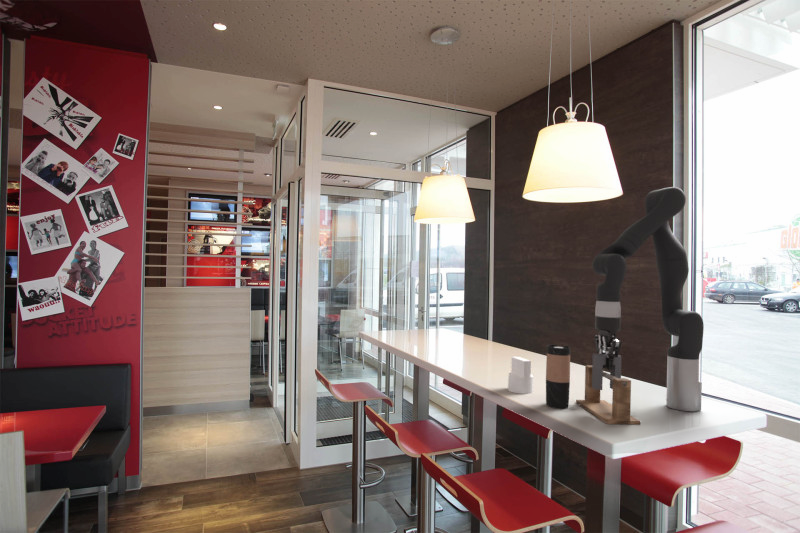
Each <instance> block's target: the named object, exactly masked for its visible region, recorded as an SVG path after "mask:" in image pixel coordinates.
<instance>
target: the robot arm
mask: <svg viewBox="0 0 800 533" xmlns="http://www.w3.org/2000/svg"><path fill="white" fill-rule="evenodd" d="M686 199H687V198H686V195H685V192H684V191H683V190H682V188H679V187H676V186H671V187H664V188H661V189H655V190H652V191H650V192H648V193H647V194H646V196H645V199H644V210H645V214H646V215H644V216H642V218H640V219H638V220H637V221H635V222H634V223H632V224H631V225H630V226H628V227H626V229H625V230H624V231H623V232H622V233H621V234H620V235H619V236H618V238H616V240H615V241H613V243H611V244H610V245H608V246H607V247H606V248H604V249H602V250H601V251H600V252H599V253H598V254H596V255H595V257H594V259H593V261H592V270H593V272H594V273H595V274H597V275H600V276H605V278H604V280H603V282H601V283H598V284H597V286H596V298H595V300H596V302H595V310H594V312H595V314H594V316H595V317H594V321H595V322H594V328H595V330H597V331H598V335H597V334H596V335H594V336H593V337H594V342H595V348H596V352H597V353H596V354H606V365H603V369H605V370H606V371H610V370H613V361H614V358H615V357H618V355H620V349H621V346H622V342H623V341H621V340H618V339H617V338H618V337H617V332H619V331H621V327H622V326H621V324H622V323H621V318H622V317H621V314H622V312H621V311H622V307H621V288H622V285H623V283H624V279H625V275H626V272H627V261H626V259H628V258H631V257H632V256H634V254H636V252H637V251H638V250H639V249H641V246H642V245H644V243H645V242H647V240H648V239H649V238H650V237H652V243H653V247H654V248H653V249H654V253H655V263H656V270H657V275H658V280H659V291H660V298H661V300H660V301H661V320H662V326H663V328H664V330H665V332H666V333H667V334H668V335H670V336H674V337H678V340H677V344H675V345H673V346H669V347H668V348H667V354H666V355H667V360H666V363H667V364H666V368H667V369H666V399H665V400H666V404H665V405H666V407H668V408H670V409H673V410H677V411H684V412H697V411H698V412H699V411H702V382H701V381H700V355H701V351H702V350H703V338H704V331H705V330H704V320H703V318H702V316H701V314H700V313H698V312H696V311H694V310H685V309H683V307H682V298H681V297H682V296H681V295H682V290H683V288H684V285H685V284H686V281H687V279H688V276H689V272H690V271H689V270H690V269H689V263H688V262H689V261H688V257H687V256H688V254H687V252H686V249H685V248H684V246H683V244H682V243H681V242H680V241H679V239H678V238H677V237H676V236H675V234H674V233H673V231H672V230H671V227H670V222H669V221H670V220H671V219H672V218H674V217H676V215H678V214H679V213H680V212H682V210H683V209H684V207H685V206H686V202H687V200H686Z"/></svg>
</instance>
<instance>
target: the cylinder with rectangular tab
mask: <svg viewBox="0 0 800 533" xmlns="http://www.w3.org/2000/svg"><path fill="white" fill-rule="evenodd" d="M510 364H511V366H510V368H511V370H510V372H509V373H508V379H507V380H508V381H507V383H508V384H507V387H508V388H507V389H508V390H507V391H509V392H510V393H511V392H512V393H514V394H515V393H516V394H523V395H526V394H527V395H528V394H533V392H534V390H533V389H534V375H533V374H532V361H531V360H529V359H526V358H524V357H520V356H511V362H510Z"/></svg>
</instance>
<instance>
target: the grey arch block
mask: <svg viewBox="0 0 800 533" xmlns="http://www.w3.org/2000/svg"><path fill="white" fill-rule="evenodd" d="M591 365H592V388H594V389H595V390H600V391H603V383H604V382H603V381H604V380H603V378H604V377H603V371H604V368H603V365H606V354H599V353H592V364H591ZM609 371H610V372H609V374H610V375H612V376H615V377H617V378H622V355H620V354H618V357H615V358H614V361H613V370H609ZM609 388H610V389H611V390H613V381H611V380H609Z"/></svg>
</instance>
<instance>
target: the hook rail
mask: <svg viewBox="0 0 800 533" xmlns="http://www.w3.org/2000/svg"><path fill="white" fill-rule="evenodd" d="M584 367H585V371H584V374H585V375H584V399H576V400H575V402H576V403H575V404H577V405H579V406H580V407H581V408H584V409H585V410H586V411H588V412H589V413H591V414H592V415H594V416H595V417H597V419H599V420H601V421H603V423H606V424H607V425H640V424H641V421H640V420H639V419H638V418H636V417H634V416H632V415H631V408H632V407H631V405H632V404H631V403H632V402H631V401H632V398H631V396H632V394H631V393H632V380H631V379H628V378H625V377H623V378H622V377H621V378H617V377H615V376H612V375H610V373H608V372H606V371H604V370H603V378H605V379H607V380H609V381H610V380H611V381H613V389H612V398H611V399H612V400H611V401H612V403H609V402H608V401H607V400H605V399H604V400H603V399H601V390H595V389H594V388H592V364H591V365H588V364H587V365H585V366H584Z"/></svg>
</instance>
